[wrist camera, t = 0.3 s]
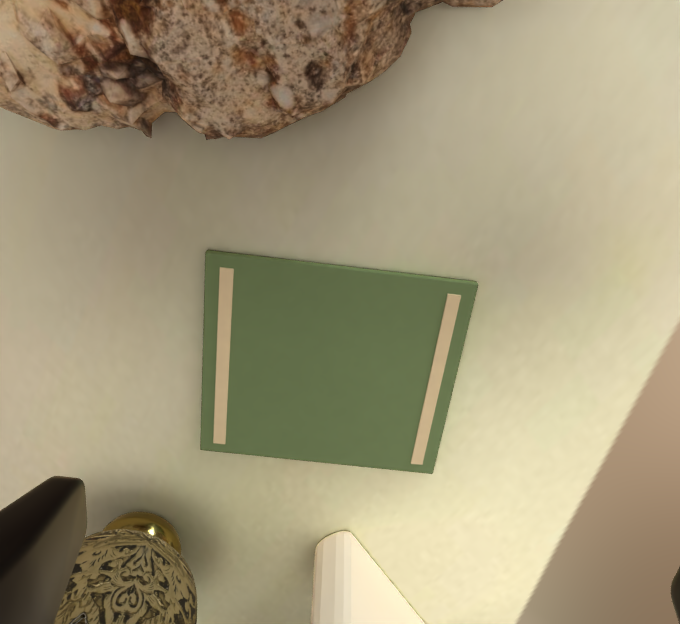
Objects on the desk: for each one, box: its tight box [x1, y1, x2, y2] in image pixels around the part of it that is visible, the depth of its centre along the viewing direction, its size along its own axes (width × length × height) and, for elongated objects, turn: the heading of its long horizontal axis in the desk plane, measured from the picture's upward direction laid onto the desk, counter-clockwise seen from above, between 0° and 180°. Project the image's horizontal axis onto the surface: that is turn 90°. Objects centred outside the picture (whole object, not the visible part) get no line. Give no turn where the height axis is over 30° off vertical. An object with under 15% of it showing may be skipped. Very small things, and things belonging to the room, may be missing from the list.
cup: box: [54, 512, 197, 624], centre depth 25 cm, size 8×7×8 cm
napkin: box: [200, 250, 478, 474], centre depth 24 cm, size 9×10×1 cm
